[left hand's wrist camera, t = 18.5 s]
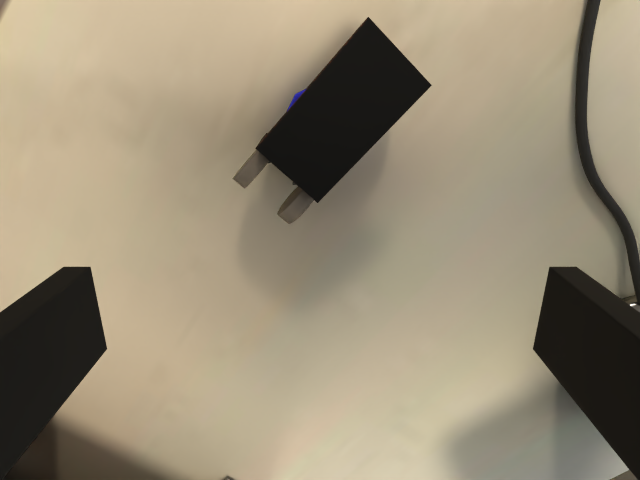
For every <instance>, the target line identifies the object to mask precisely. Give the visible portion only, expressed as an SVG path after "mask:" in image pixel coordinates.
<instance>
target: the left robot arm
mask: <svg viewBox="0 0 640 480" xmlns="http://www.w3.org/2000/svg"><path fill="white" fill-rule="evenodd" d="M599 5H600V0H588V4H587V9H586V14H585V18H584V23H583V29H582V34H581V40H580V47H579V54H578V64H577V80H576V103H575V123H576V136H577V143H578V148H579V153H580V158H581V161H582V165H583V168H584V171H585V174H586V176H587V178H588V180H589V182H590V184H591V186H592V187H593V189H594V191H595V192H596V193H597V195H598V196H599V197H600V199H601V200H602V201H603V203H604V204H605V205H606V207H607V208H608V209H609V210H610V212H611V213H612V215H613V216H614V218H615V220H616V221H617V223H618V225H619V227H620V229H621V232H622V234H623V237H624V240H625V244H626V248H627V254H628V260H629V265H630V271H631V275H632V280H633V285H634V289H635V294H636V295H634V296H631V297H628V298H625V299H620V298H619V297H618V296H616V295H615V294H613V293H612V292H611V291H609V290H608V289H606V288H605V287H604V286H602V285H601V284H599V283H598V282H597V281H595V280H594V279H593V278H591V277H590V276H588V275H587V274H586V273H584V272H583V271H581V270H580V269H579V268H577V267H549V272H548V277H547V282H546V287H545V292H544V297H543V302H542V307H541V312H540V317H539V322H538V327H537V332H536V337H535V342H534V346H533V350H534V351H535V352H536V353H537V355H538V356H539V357H540V358H541V360H542V361H543V362H544V363H545V365H546V366H547V367H548V368H549V370H550V371H551V372H552V373H553V375H554V376H555V377H556V378H557V380H558V381H559V382H560V383H561V385H562V386H563V387H564V388H565V390H566V391H567V392H568V393H569V395H570V396H571V397H572V398H573V400H574V401H575V402H576V403H577V405H578V406H579V407H580V408H581V410H582V411H583V412H584V413H585V415H586V416H587V417H588V418H589V420H590V421H591V422H592V423H593V425H594V426H595V427H596V428H597V430H598V431H599V432H600V433H601V435H602V436H603V437H604V438H605V440H606V441H607V442H608V443H609V445H610V446H611V447H612V448H613V450H614V451H615V452H616V453H617V455H618V456H619V457H620V458H621V460H622V461H623V462H624V463H625V465H626V466H627V467H628V468H629V470H628V471H626V472H624V473H622V474H620V475H618V476H616V477H614V478H612V479H610V480H640V260H639V254H638V248H637V243H636V239H635V236H634V233H633V230H632V228H631V226H630V223H629V222H628V220H627V218H626V216H625V214H624V213H623V211H622V210H621V208H620V207H619V206H618V204H617V203H616V202H615V200H614V199H613V198H612V196H611V195H610V194H609V192H608V191H607V190H606V188H605V187H604V185H603V183H602V182H601V180H600V178H599V176H598V174H597V171H596V169H595V166H594V163H593V159H592V155H591V151H590V145H589V139H588V130H587V93H588V76H589V62H590V53H591V46H592V40H593V34H594V29H595V24H596V19H597V14H598V10H599ZM106 350H107V346H106V342H105V337H104V332H103V327H102V322H101V317H100V312H99V307H98V302H97V297H96V292H95V287H94V282H93V277H92V272H91V267H63V268H61V269H60V270H59V271H57V272H56V273H54V274H53V275H52V276H50V277H49V278H47V279H46V280H45V281H43V282H42V283H41V284H39V285H38V286H36V287H35V288H34V289H32V290H31V291H29V292H28V293H27V294H25V295H24V296H22V297H21V298H20V299H18V300H17V301H15V302H14V303H13V304H11V305H10V306H9V307H7V308H6V309H4V310H3V311H2V312H0V480H3V478H4V477H5V476H6V475H7V473H8V472H9V471H10V470H11V468H12V467H13V466H14V465H15V463H16V462H17V461H18V460H19V458H20V457H21V456H22V455H23V453H24V452H25V451H26V450H27V448H28V447H29V446H30V445H31V443H32V442H33V441H34V440H35V438H36V437H37V436H38V435H39V433H40V432H41V431H42V430H43V428H44V427H45V426H46V425H47V423H48V422H49V421H50V420H51V418H52V417H53V416H54V415H55V413H56V412H57V411H58V410H59V408H60V407H61V406H62V405H63V403H64V402H65V401H66V400H67V398H68V397H69V396H70V395H71V393H72V392H73V391H74V390H75V388H76V387H77V386H78V385H79V383H80V382H81V381H82V380H83V378H84V377H85V376H86V375H87V373H88V372H89V371H90V370H91V368H92V367H93V366H94V365H95V363H96V362H97V361H98V360H99V358H100V357H101V356H102V355H103V353H104V352H105V351H106Z"/></svg>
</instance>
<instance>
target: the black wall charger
mask: <svg viewBox="0 0 640 480" xmlns="http://www.w3.org/2000/svg"><path fill="white" fill-rule="evenodd" d="M430 86H431V84H430V83H429V82H428V81H427V80H426V79H425V78H424V77H423V75H422V74H421V73H420V72H419V71H418V70H417V69H416V68H415V67H414V66H413V65H412V64H411V63H410V61H409V60H408V59H407V58H406V57H405V56H404V55H403V54H402V53H401V52H400V51H399V50H398V48H397V47H396V46H395V45H394V44H393V43H392V42H391V41H390V40H389V39H388V38H387V37H386V36H385V34H384V33H383V32H382V31H381V30H380V29H379V28H378V27H377V26H376V25H375V24H374V23H373V21H372V20H371V19H370V18H369V17H368V18H367V19H366V20H365V21H364V22H363V23H362V25H361V26H360V27H359V28H358V29H357V30H356V32H355V33H354V34H353V35H352V36H351V37H350V39H349V40H348V41H347V42H346V43H345V44H344V46H343V47H342V48H341V49H340V50H339V51H338V53H337V54H336V55H335V56H334V57H333V58H332V60H331V61H330V62H329V63H328V64H327V65H326V67H325V68H324V69H323V70H322V71H321V72H320V74H319V75H318V76H317V77H316V78H315V79H314V81H313V82H312V83H311V84H310V85H309V86H308V88H307V89H305V90H303V91H301V92H299V93H296V94H295V96H294V98H293V100H292V102H291V104H290V106H289V108H288V110H287V112H286V113H285V114H284V115H283V117H282V118H281V119H280V120H279V121H278V122H277V124H276V125H275V126H274V127H273V128H272V129H271V131H270V132H269V133H268V134H267V133H266V135H265V136H264V137H263V138H262V139H261V141H260V143H259V144H258V146H257V147H256V148H255V149H257V150H256V151H255V152H254V153H253V154H252V156H251V157H250V158H249V159H248V160H247V161H246V163H245V164H244V165H243V166H242V167H241V169H240V170H239V171H238V172H237V173H236V175H235V176H234V177H233V179H234V180H235V181H236V182H237V183H238V184H240V185H241V186H242V187H243V188H246V187H247V186H248V185H249V184H250V183H251V182H252V181H253V180H254V179H255V177H256V176H257V175H258V174H259V173H260V172H261V170H262V169H263V168H264V167H265V166H266V164H267V163H273V164H274V165H275V166H276V167H277V168H278V169H279V170H281V171H282V172H283V173H284V174H285V175H286V176H287V177H289V178H290V179H291V180H292V181H293V185H296V184H297V185H298V187H297V188H296V189H295V190H294V191H293V192H292V193H291V194H290V196H289V197H288V198H287V199H286V200H285V202H284V203H283V204H282V206H281V207H280V209H279V211H278V213H277V215H279V216H280V217H281V218H282V219H283V220H285V221H286V222H287V223H288V224H291V223H292V222H294V221H295V220H296V219H297V218H299V217H300V216H301V215H302V214H303V213H304V211H305V210H306V209H307V208H308V207H309V206H310V204H311V203H312V202H313V200H315V201H316V202H317V203H318V202H319V201H320V200H321V199H322V198H323V197H324V196H325V195H326V194H327V193H328V192H329V191H330V190H331V189H332V188H333V187H334V186H335V185H336V183H337V182H338V181H339V180H340V179H341V178H342V177H343V176H344V175H345V174H346V173H347V172H348V171H349V170H350V169H351V168H352V167H353V166H354V165H355V164H356V163H357V162H358V161H359V160H360V159H361V158H362V157H363V156H364V155H365V154H366V153H367V151H368V150H369V149H370V148H371V147H372V146H373V145H374V144H375V143H376V142H377V141H378V140H379V139H380V138H381V137H382V136H383V135H384V134H385V133H386V132H387V131H388V130H389V129H390V128H391V127H392V126H393V125H394V124H395V123H396V122H397V121H398V120H399V118H400V117H401V116H402V115H403V114H404V113H405V112H406V111H407V110H408V109H409V108H410V107H411V106H412V105H413V104H414V103H415V102H416V101H417V100H418V99H419V98H420V97H421V96H422V95H423V94H424V93H425V92H426V91H427V90H428V89H429V88H430Z"/></svg>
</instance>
